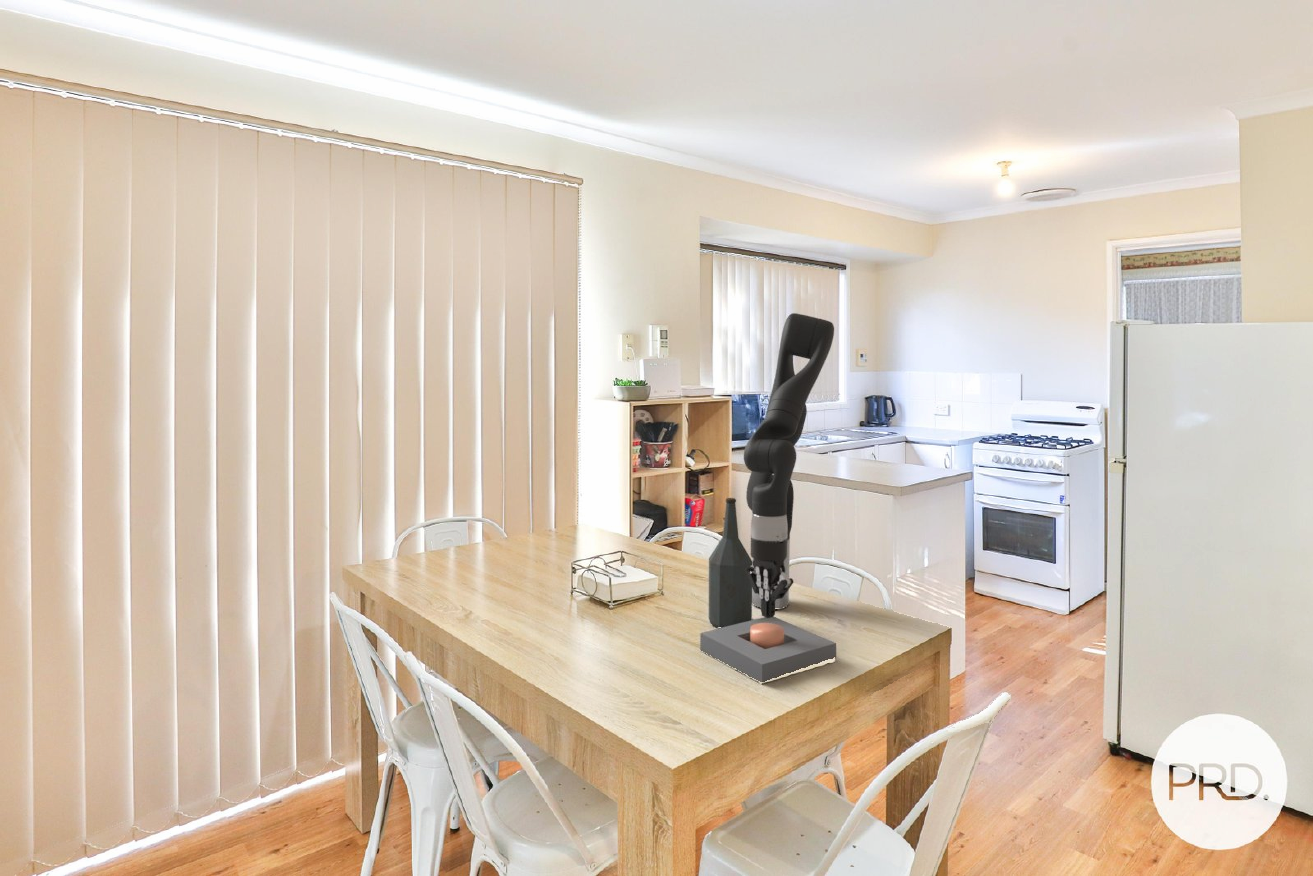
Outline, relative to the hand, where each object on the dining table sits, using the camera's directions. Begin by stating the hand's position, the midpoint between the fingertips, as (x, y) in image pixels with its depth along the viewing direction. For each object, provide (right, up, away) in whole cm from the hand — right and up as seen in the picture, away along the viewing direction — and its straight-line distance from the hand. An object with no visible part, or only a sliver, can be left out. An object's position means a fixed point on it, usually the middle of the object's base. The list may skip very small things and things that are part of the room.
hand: (768, 616), depth 158 cm
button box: (0, -9, +1) cm, 9 cm away
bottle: (-6, -7, +21) cm, 23 cm away
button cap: (0, -7, +1) cm, 7 cm away
